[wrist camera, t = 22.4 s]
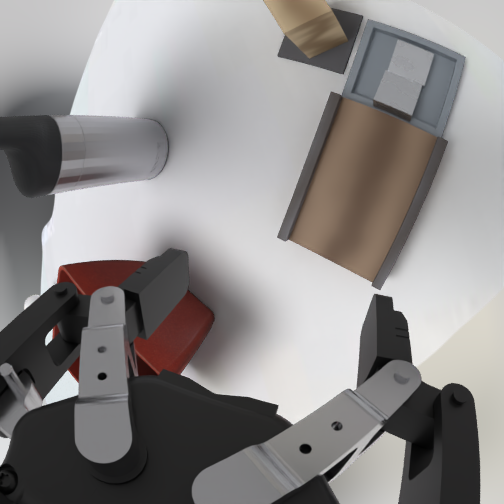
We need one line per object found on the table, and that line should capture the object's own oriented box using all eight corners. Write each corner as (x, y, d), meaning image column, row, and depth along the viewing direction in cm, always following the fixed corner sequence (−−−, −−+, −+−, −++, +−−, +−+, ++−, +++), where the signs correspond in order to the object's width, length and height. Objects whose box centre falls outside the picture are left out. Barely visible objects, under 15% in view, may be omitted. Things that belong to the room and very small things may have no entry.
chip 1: (397, 39, 24) (398, 44, 25) (387, 70, 25) (388, 74, 27) (434, 53, 23) (433, 58, 24) (424, 85, 24) (423, 89, 26)
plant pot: (246, 315, 43) (167, 384, 28) (195, 383, 52) (131, 441, 37) (151, 231, 47) (58, 261, 32) (122, 311, 56) (51, 349, 41)
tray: (343, 99, 30) (341, 96, 29) (369, 24, 26) (367, 19, 25) (438, 140, 27) (440, 139, 25) (463, 61, 23) (465, 57, 21)
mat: (278, 56, 32) (277, 55, 31) (298, 2, 28) (297, 1, 28) (343, 74, 29) (342, 73, 29) (362, 16, 26) (362, 15, 26)
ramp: (289, 230, 37) (277, 237, 33) (338, 99, 30) (330, 91, 27) (382, 277, 33) (380, 290, 30) (442, 144, 27) (447, 141, 23)
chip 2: (373, 106, 27) (373, 99, 26) (385, 77, 27) (385, 70, 26) (409, 121, 26) (411, 115, 25) (420, 92, 26) (422, 85, 24)
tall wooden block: (309, 58, 30) (283, 33, 23) (287, 21, 29) (258, -8, 23) (348, 41, 27) (332, 10, 21) (323, 3, 27) (301, -30, 20)
